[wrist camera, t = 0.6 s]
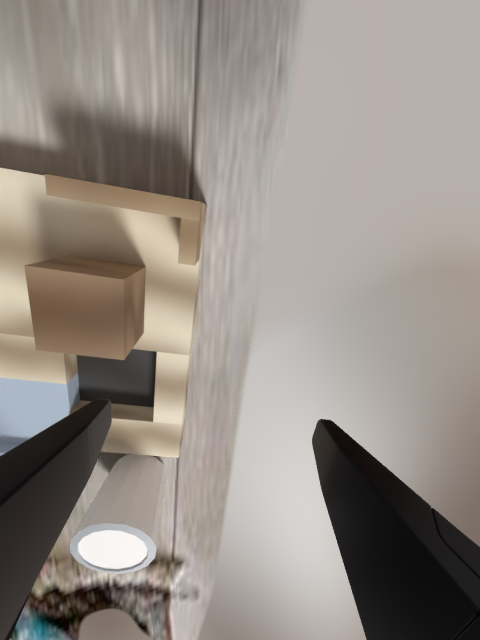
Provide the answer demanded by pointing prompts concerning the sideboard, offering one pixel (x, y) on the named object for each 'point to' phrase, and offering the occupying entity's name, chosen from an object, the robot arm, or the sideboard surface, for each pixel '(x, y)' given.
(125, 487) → the white cylinder
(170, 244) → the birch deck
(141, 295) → the walnut block
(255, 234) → the sideboard surface
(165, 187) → the sideboard surface
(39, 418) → the strip
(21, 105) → the sideboard surface
